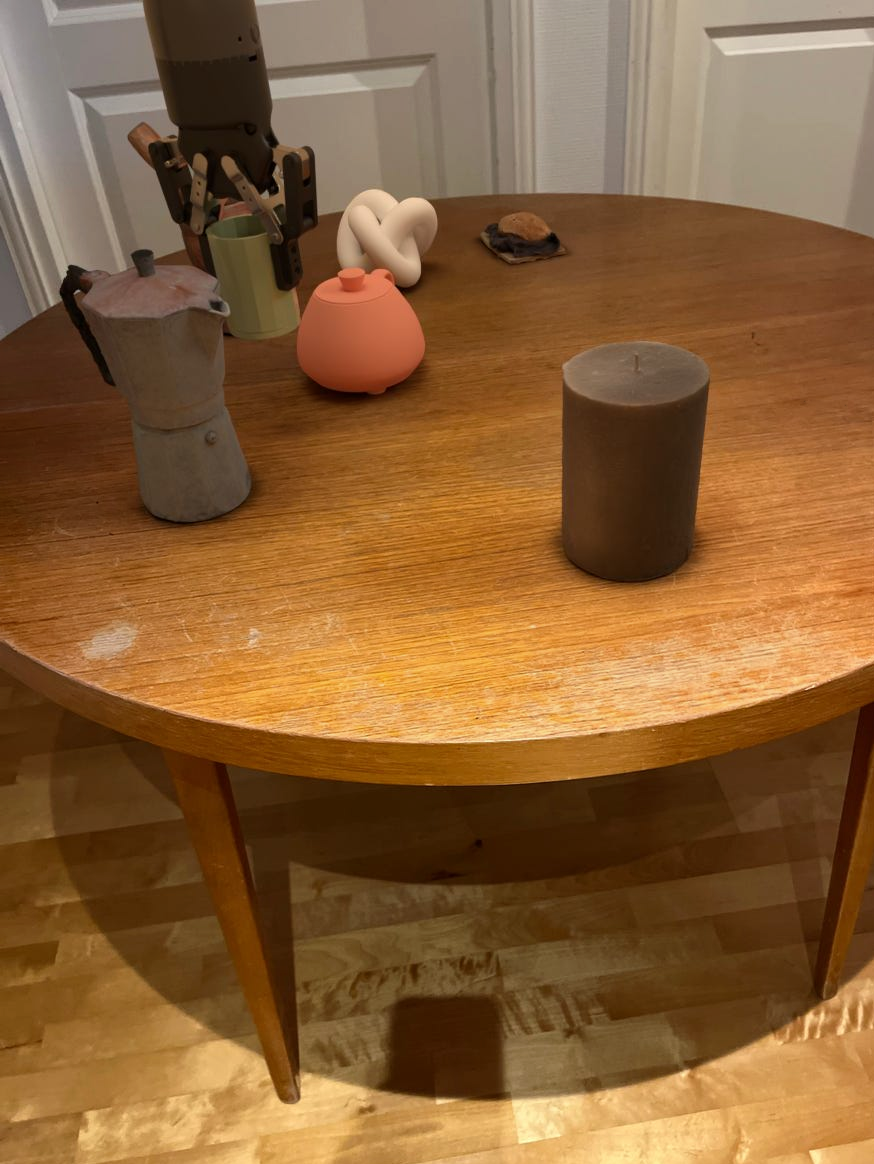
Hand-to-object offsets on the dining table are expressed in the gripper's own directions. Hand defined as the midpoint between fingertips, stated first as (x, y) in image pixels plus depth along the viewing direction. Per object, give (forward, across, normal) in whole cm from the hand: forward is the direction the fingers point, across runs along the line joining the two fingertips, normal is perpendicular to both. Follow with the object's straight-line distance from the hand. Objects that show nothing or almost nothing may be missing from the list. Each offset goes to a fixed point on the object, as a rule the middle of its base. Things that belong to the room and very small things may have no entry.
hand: (256, 282), depth 79 cm
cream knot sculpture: (+14, -9, +36) cm, 40 cm away
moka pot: (+14, -1, -12) cm, 18 cm away
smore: (+14, +1, +50) cm, 52 cm away
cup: (+4, 0, 0) cm, 4 cm away
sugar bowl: (+14, +1, +13) cm, 19 cm away
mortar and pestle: (+14, -20, +18) cm, 30 cm away
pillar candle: (+14, +34, -5) cm, 37 cm away
